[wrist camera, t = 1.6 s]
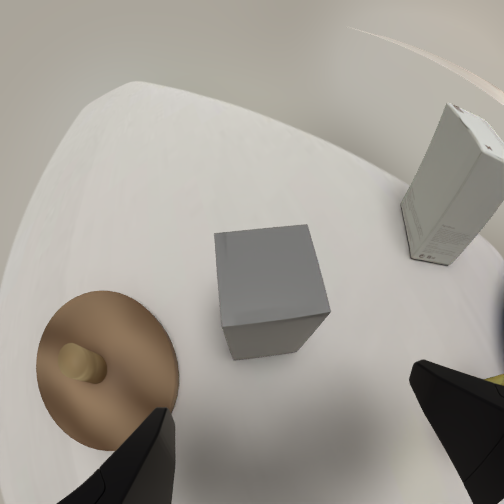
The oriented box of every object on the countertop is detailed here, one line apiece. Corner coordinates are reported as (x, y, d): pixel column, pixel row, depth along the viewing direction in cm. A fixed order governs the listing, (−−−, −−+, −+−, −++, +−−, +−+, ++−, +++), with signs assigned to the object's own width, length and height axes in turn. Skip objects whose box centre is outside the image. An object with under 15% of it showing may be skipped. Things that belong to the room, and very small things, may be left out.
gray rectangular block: (296, 351, 21) (331, 311, 12) (233, 360, 20) (221, 326, 12) (285, 295, 23) (307, 224, 15) (227, 302, 23) (214, 233, 14)
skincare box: (448, 267, 25) (529, 176, 12) (406, 259, 25) (486, 151, 12) (435, 210, 29) (490, 120, 16) (396, 199, 30) (447, 97, 17)
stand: (150, 476, 15) (125, 491, 10) (31, 397, 17) (-3, 389, 12) (202, 327, 22) (190, 307, 17) (79, 278, 24) (53, 253, 19)
